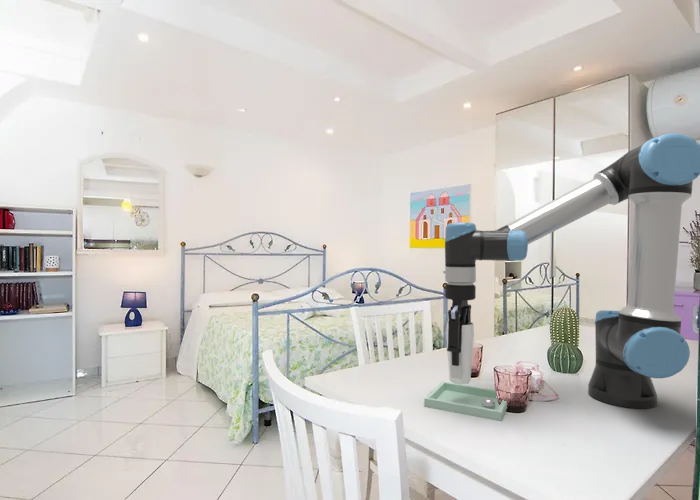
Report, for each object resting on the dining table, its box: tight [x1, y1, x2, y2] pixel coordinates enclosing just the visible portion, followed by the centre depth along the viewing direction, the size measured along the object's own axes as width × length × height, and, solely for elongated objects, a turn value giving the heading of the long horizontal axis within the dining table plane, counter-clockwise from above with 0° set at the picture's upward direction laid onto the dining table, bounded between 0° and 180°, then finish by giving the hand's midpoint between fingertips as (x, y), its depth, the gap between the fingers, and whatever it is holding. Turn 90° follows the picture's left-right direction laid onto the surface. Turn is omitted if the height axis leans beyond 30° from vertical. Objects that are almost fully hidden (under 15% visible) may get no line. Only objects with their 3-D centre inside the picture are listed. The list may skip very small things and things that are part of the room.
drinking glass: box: [445, 320, 475, 385], centre depth 104 cm, size 7×7×15 cm
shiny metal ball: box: [481, 398, 495, 410], centre depth 97 cm, size 3×3×3 cm
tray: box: [423, 380, 508, 422], centre depth 103 cm, size 18×15×2 cm
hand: (459, 374), depth 104 cm, fingers closed on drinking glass, 6 cm apart
